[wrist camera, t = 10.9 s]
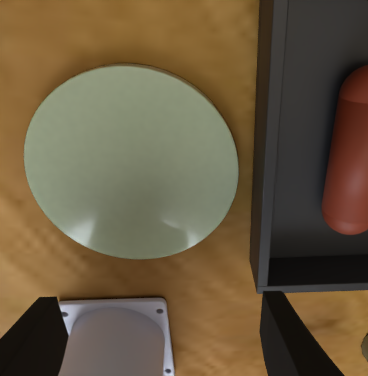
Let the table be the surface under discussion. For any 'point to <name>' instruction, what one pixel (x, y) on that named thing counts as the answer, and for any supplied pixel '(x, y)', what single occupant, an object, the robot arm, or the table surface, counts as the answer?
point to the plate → (131, 161)
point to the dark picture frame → (302, 145)
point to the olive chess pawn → (365, 347)
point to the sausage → (349, 159)
